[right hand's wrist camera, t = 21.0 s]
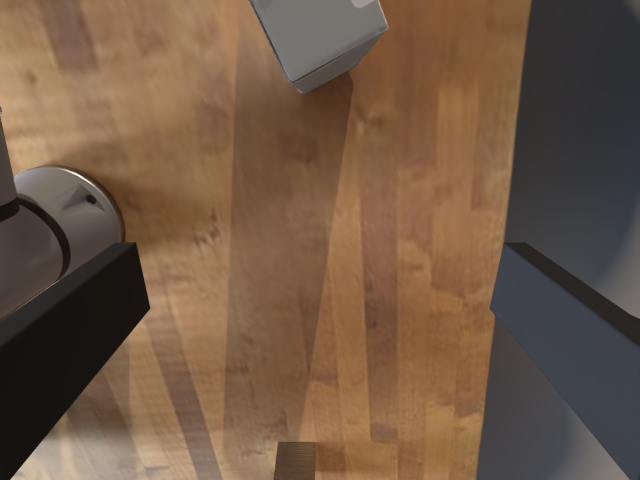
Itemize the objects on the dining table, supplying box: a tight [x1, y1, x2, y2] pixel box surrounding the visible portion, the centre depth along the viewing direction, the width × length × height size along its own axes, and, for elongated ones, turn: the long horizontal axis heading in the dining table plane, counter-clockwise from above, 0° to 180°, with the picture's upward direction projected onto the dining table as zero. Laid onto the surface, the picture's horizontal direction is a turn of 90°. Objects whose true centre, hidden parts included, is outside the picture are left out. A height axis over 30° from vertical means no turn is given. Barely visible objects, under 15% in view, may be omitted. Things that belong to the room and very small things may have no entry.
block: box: [274, 443, 315, 480], centre depth 63 cm, size 8×7×8 cm
